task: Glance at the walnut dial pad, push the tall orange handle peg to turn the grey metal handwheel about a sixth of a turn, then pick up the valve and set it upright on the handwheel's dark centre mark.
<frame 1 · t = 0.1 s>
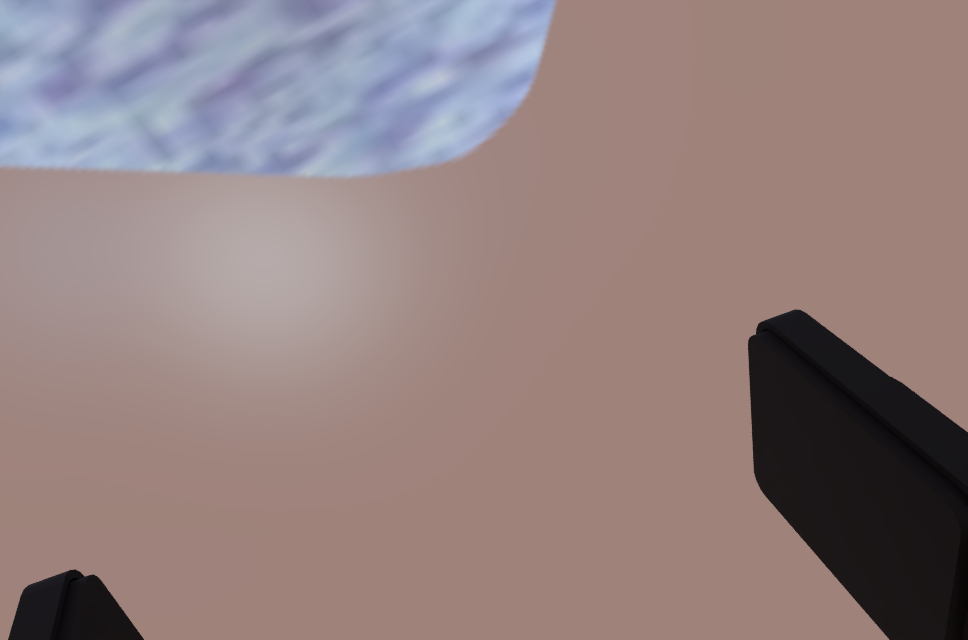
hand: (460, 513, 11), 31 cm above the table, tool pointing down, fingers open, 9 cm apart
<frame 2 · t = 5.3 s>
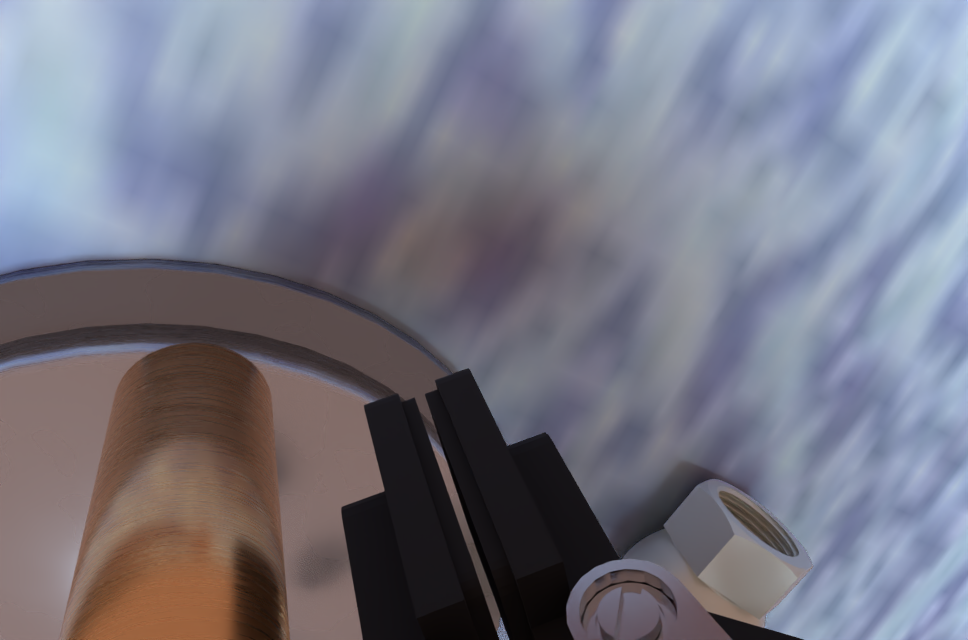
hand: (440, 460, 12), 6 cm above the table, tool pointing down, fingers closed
valve: (647, 548, 24), on the table
plinth: (167, 592, 20), on the table
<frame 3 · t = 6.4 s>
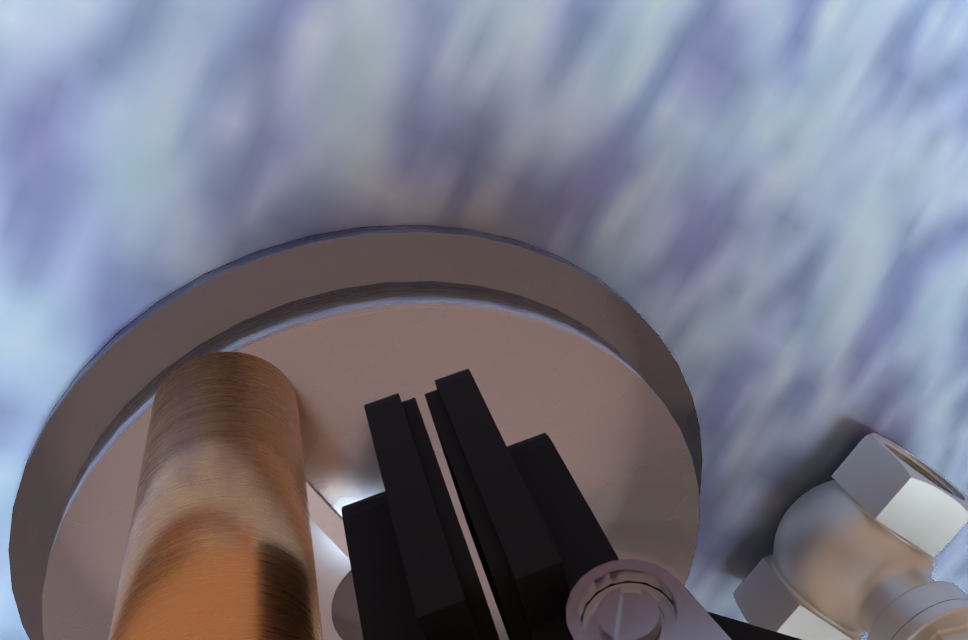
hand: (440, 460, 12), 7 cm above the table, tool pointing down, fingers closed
valve: (803, 504, 26), on the table
plinth: (390, 539, 21), on the table
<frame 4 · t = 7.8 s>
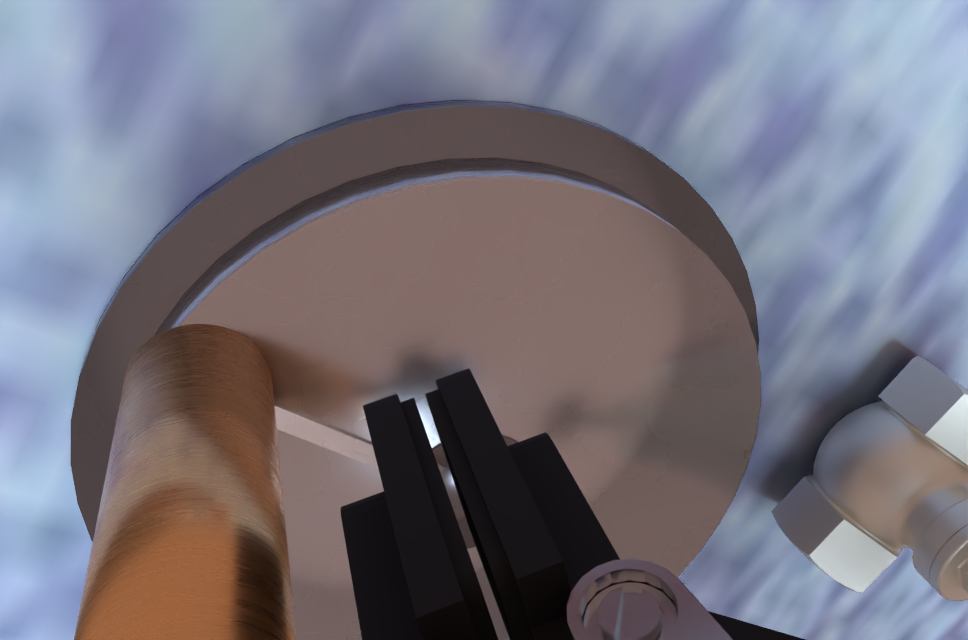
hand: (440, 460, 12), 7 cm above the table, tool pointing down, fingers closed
valve: (841, 428, 26), on the table
handwheel: (509, 596, 17), point 6 cm above the table, hinge at 70.2°
plinth: (447, 437, 21), on the table
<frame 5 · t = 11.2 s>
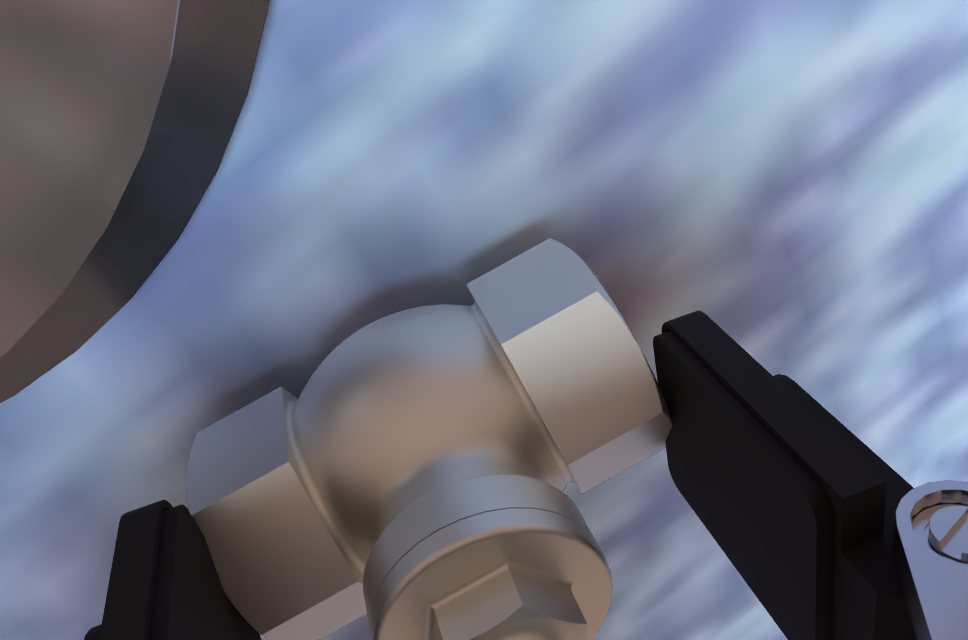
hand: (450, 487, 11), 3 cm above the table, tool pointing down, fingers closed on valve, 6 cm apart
valve: (405, 365, 14), on the table, touching gripper
when the fingers open (7 cm above the table, at t = 16.5 s): valve drops 1 cm, resting on handwheel.
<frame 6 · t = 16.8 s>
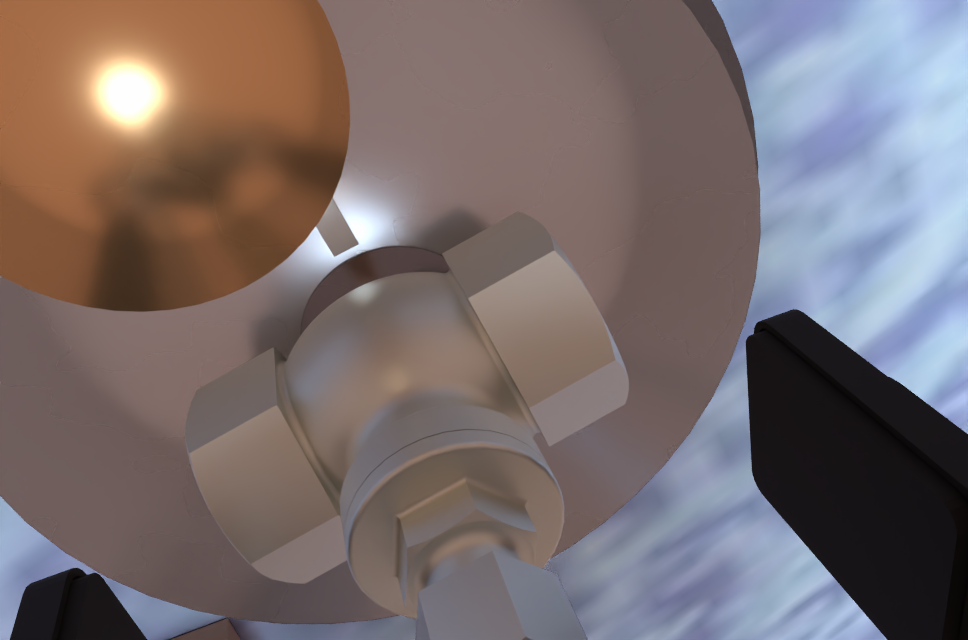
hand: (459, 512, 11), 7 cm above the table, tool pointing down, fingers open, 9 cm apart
valve: (391, 337, 16), point 2 cm above the table, touching handwheel
handwheel: (429, 429, 13), point 5 cm above the table, hinge at 70.2°, touching valve
plinth: (376, 282, 17), on the table
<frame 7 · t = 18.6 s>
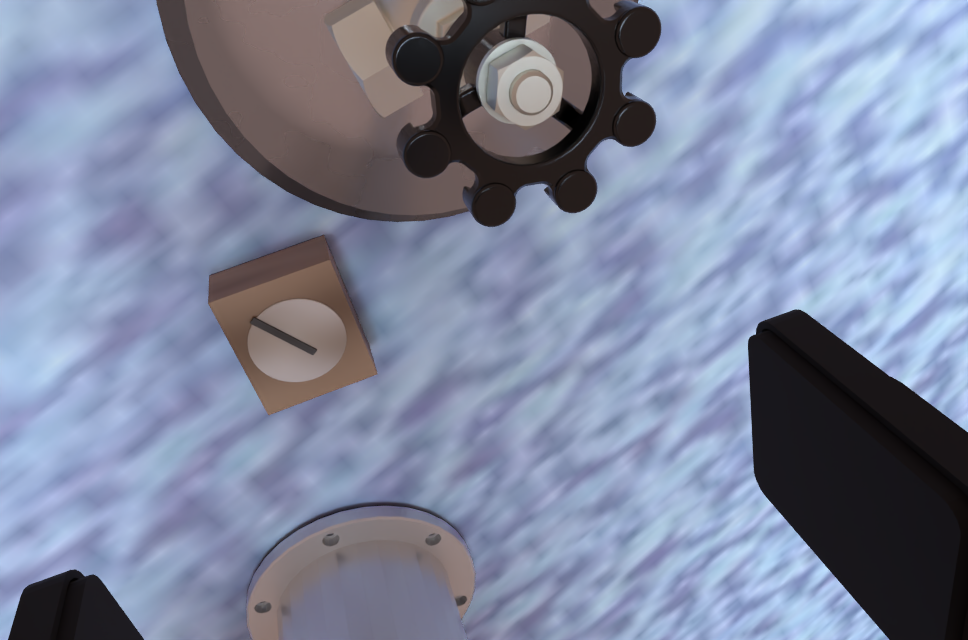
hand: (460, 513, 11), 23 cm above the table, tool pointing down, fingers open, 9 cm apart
valve: (423, 7, 28), point 2 cm above the table, touching handwheel
handwheel: (447, 19, 25), point 6 cm above the table, hinge at 70.2°, touching valve
dial pad: (293, 312, 35), on the table
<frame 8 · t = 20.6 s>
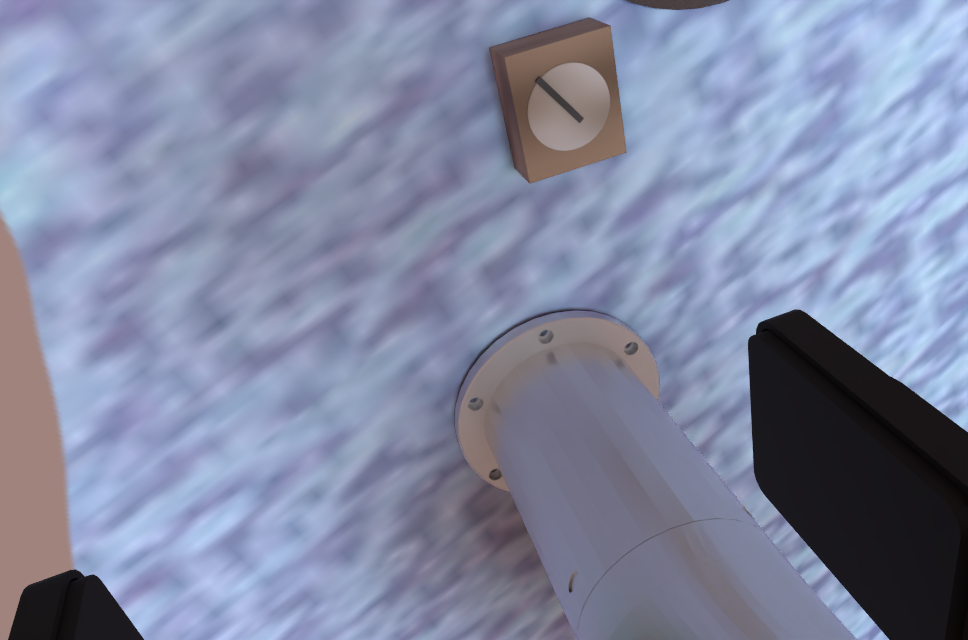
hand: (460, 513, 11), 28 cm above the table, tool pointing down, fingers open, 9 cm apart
dial pad: (550, 95, 38), on the table
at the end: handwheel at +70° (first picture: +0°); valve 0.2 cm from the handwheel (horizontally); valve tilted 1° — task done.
